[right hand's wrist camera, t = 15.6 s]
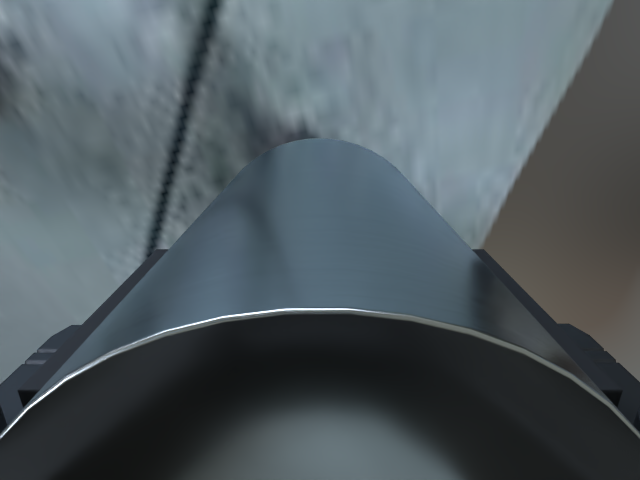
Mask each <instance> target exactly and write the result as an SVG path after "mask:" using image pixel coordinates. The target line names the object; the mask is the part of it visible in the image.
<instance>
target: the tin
mask: <svg viewBox="0 0 640 480" xmlns="http://www.w3.org/2000/svg"><path fill="white" fill-rule="evenodd" d="M0 480H640V432H639V431H638V430H637V429H636V428H635V427H634V426H633V425H632V424H631V423H630V421H629V420H628V419H627V418H626V417H625V416H624V415H623V414H622V413H621V412H620V411H619V409H618V408H617V407H616V406H615V405H614V404H613V403H612V402H611V401H610V400H609V399H608V397H607V396H606V395H605V394H604V393H603V392H602V391H601V390H600V389H599V388H598V387H597V385H596V384H595V383H594V382H593V381H592V380H591V379H590V378H589V377H588V376H587V375H586V373H585V372H584V371H583V370H582V369H581V368H580V367H579V366H578V365H577V364H576V363H575V361H574V360H573V359H572V358H571V357H570V356H569V355H568V354H567V353H566V352H565V351H564V350H563V348H562V347H561V346H560V345H559V344H558V343H557V342H556V341H555V340H554V339H553V338H552V336H551V335H550V334H549V333H548V332H547V331H546V330H545V329H544V328H543V327H542V326H541V324H540V323H539V322H538V321H537V320H536V319H535V318H534V317H533V316H532V315H531V314H530V312H529V311H528V310H527V309H526V308H525V307H524V306H523V305H522V304H521V303H520V302H519V300H518V299H517V298H516V297H515V296H514V295H513V294H512V293H511V292H510V291H509V290H508V288H507V287H506V286H505V285H504V284H503V283H502V282H501V281H500V280H499V279H498V278H497V276H496V275H495V274H494V273H493V272H492V271H491V270H490V269H489V268H488V267H487V266H486V264H485V263H484V262H483V261H482V260H481V259H480V258H479V257H478V256H477V255H476V254H475V252H474V251H473V250H472V249H471V248H470V247H469V246H468V245H467V244H466V243H465V242H464V240H463V239H462V238H461V237H460V236H459V235H458V234H457V233H456V232H455V231H454V230H453V229H452V227H451V226H450V225H449V224H448V223H447V222H446V221H445V220H444V219H443V218H442V217H441V215H440V214H439V213H438V212H437V211H436V210H435V209H434V208H433V207H432V206H431V205H430V203H429V202H428V201H427V200H426V199H425V198H424V197H423V196H422V195H421V194H420V193H419V191H418V190H417V189H416V188H415V187H414V186H413V185H412V184H411V183H410V182H409V181H408V179H407V178H406V177H405V176H404V175H403V174H402V173H401V172H400V171H399V170H398V169H397V168H396V167H395V166H394V165H393V164H391V163H390V162H389V161H388V160H386V159H385V158H384V157H382V156H380V155H378V154H377V153H375V152H373V151H372V150H369V149H367V148H365V147H362V146H360V145H358V144H354V143H350V142H347V141H343V140H335V139H328V138H316V139H305V140H298V141H293V142H290V143H286V144H283V145H280V146H278V147H275V148H273V149H271V150H268V151H267V152H265V153H263V154H262V155H260V156H258V157H257V158H255V159H254V160H253V161H251V162H250V163H249V164H248V165H246V166H245V167H244V168H243V169H242V170H241V171H240V172H239V173H238V174H237V175H236V176H235V178H234V179H233V180H232V181H231V182H230V183H229V184H228V185H227V186H226V187H225V188H224V190H223V191H222V192H221V193H220V194H219V195H218V196H217V197H216V198H215V199H214V200H213V202H212V203H211V204H210V205H209V206H208V207H207V208H206V209H205V210H204V211H203V212H202V214H201V215H200V216H199V217H198V218H197V219H196V220H195V221H194V222H193V223H192V225H191V226H190V227H189V228H188V229H187V230H186V231H185V232H184V233H183V234H182V235H181V237H180V238H179V239H178V240H177V241H176V242H175V243H174V244H173V245H172V246H171V247H170V249H169V250H168V251H167V252H166V253H165V254H164V255H163V256H162V257H161V258H160V259H159V261H158V262H157V263H156V264H155V265H154V266H153V267H152V268H151V269H150V270H149V271H148V273H147V274H146V275H145V276H144V277H143V278H142V279H141V280H140V281H139V282H138V284H137V285H136V286H135V287H134V288H133V289H132V290H131V291H130V292H129V293H128V294H127V296H126V297H125V298H124V299H123V300H122V301H121V302H120V303H119V304H118V305H117V306H116V308H115V309H114V310H113V311H112V312H111V313H110V314H109V315H108V316H107V317H106V318H105V320H104V321H103V322H102V323H101V324H100V325H99V326H98V327H97V328H96V329H95V330H94V332H93V333H92V334H91V335H90V336H89V337H88V338H87V339H86V340H85V341H84V342H83V344H82V345H81V346H80V347H79V348H78V349H77V350H76V351H75V352H74V353H73V355H72V356H71V357H70V358H69V359H68V360H67V361H66V362H65V363H64V364H63V365H62V367H61V368H60V369H59V370H58V371H57V372H56V373H55V374H54V375H53V376H52V377H51V379H50V380H49V381H48V382H47V383H46V384H45V385H44V386H43V387H42V388H41V389H40V391H39V392H38V393H37V394H36V395H35V396H34V397H33V398H32V399H31V400H30V401H29V403H28V404H27V405H26V406H25V407H24V408H23V409H22V410H21V411H20V412H19V414H18V415H17V416H16V417H15V418H14V419H13V420H12V421H11V422H10V423H9V424H8V426H7V427H6V428H5V429H4V430H3V431H2V432H1V433H0Z"/></svg>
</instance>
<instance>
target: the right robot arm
mask: <svg viewBox="0 0 640 480" xmlns="http://www.w3.org/2000/svg"><path fill="white" fill-rule="evenodd" d="M168 250H169V249H156V250H155V252H154V253H153V254H152V255H151V256H150V257H149V258H148V259H147V260H146V261H145V262H144V263H143V264H142V265H141V266H140V267H139V268H138V269H137V270H136V271H135V272H134V273H133V274H132V275H131V276H130V277H129V278H128V279H127V280H126V281H125V282H124V283H123V284H122V285H121V286H120V287H119V288H118V289H117V290H116V291H115V292H114V293H113V294H112V295H111V296H110V297H109V298H108V299H107V300H106V301H105V302H104V303H103V304H102V305H101V306H100V307H99V308H98V309H97V310H96V311H95V312H94V313H93V314H92V315H91V316H90V317H89V318H88V319H87V320H86V321H85V322H84V323H83V324H82V325H71V326H69V327H67V328H66V329H64V330H62V331H60V332H59V333H57V334H55V335H53V336H52V337H50V338H49V339H48V340H47V341H46V342H45V343H44V344H43V345H42V346H41V347H40V348H39V349H38V350H37V353H33V354H32V355H31V356H30V357H29V358H28V359H27V360H26V361H25V364H22V365H21V366H20V367H19V368H17V369H16V370H15V371H14V372H13V373H12V374H11V375H10V376H9V377H8V378H7V379H6V380H5V381H4V382H3V383H2V384H0V433H1V432H2V431H3V430H4V429H5V428H6V427H7V426H8V424H9V423H10V422H11V421H12V420H13V419H14V418H15V417H16V416H17V415H18V414H19V412H20V411H21V410H22V409H23V408H24V407H25V406H26V405H27V404H28V403H29V401H30V400H31V399H32V398H33V397H34V396H35V395H36V394H37V393H38V392H39V391H40V389H41V388H42V387H43V386H44V385H45V384H46V383H47V382H48V381H49V380H50V379H51V377H52V376H53V375H54V374H55V373H56V372H57V371H58V370H59V369H60V368H61V367H62V365H63V364H64V363H65V362H66V361H67V360H68V359H69V358H70V357H71V356H72V355H73V353H74V352H75V351H76V350H77V349H78V348H79V347H80V346H81V345H82V344H83V342H84V341H85V340H86V339H87V338H88V337H89V336H90V335H91V334H92V333H93V332H94V330H95V329H96V328H97V327H98V326H99V325H100V324H101V323H102V322H103V321H104V320H105V318H106V317H107V316H108V315H109V314H110V313H111V312H112V311H113V310H114V309H115V308H116V306H117V305H118V304H119V303H120V302H121V301H122V300H123V299H124V298H125V297H126V296H127V294H128V293H129V292H130V291H131V290H132V289H133V288H134V287H135V286H136V285H137V284H138V282H139V281H140V280H141V279H142V278H143V277H144V276H145V275H146V274H147V273H148V271H149V270H150V269H151V268H152V267H153V266H154V265H155V264H156V263H157V262H158V261H159V259H160V258H161V257H162V256H163V255H164V254H165V253H166V252H167V251H168ZM472 250H473V251H474V252H475V254H476V255H477V256H478V257H479V258H480V259H481V260H482V261H483V262H484V263H485V264H486V266H487V267H488V268H489V269H490V270H491V271H492V272H493V273H494V274H495V275H496V276H497V278H498V279H499V280H500V281H501V282H502V283H503V284H504V285H505V286H506V287H507V288H508V290H509V291H510V292H511V293H512V294H513V295H514V296H515V297H516V298H517V299H518V300H519V302H520V303H521V304H522V305H523V306H524V307H525V308H526V309H527V310H528V311H529V312H530V314H531V315H532V316H533V317H534V318H535V319H536V320H537V321H538V322H539V323H540V324H541V326H542V327H543V328H544V329H545V330H546V331H547V332H548V333H549V334H550V335H551V336H552V338H553V339H554V340H555V341H556V342H557V343H558V344H559V345H560V346H561V347H562V348H563V350H564V351H565V352H566V353H567V354H568V355H569V356H570V357H571V358H572V359H573V360H574V361H575V363H576V364H577V365H578V366H579V367H580V368H581V369H582V370H583V371H584V372H585V373H586V375H587V376H588V377H589V378H590V379H591V380H592V381H593V382H594V383H595V384H596V385H597V387H598V388H599V389H600V390H601V391H602V392H603V393H604V394H605V395H606V396H607V397H608V399H609V400H610V401H611V402H612V403H613V404H614V405H615V406H616V407H617V408H618V409H619V411H620V412H621V413H622V414H623V415H624V416H625V417H626V418H627V419H628V420H629V421H630V423H631V424H632V425H633V426H634V427H635V428H636V429H637V430H638V431H639V432H640V382H639V381H638V380H637V379H636V378H635V377H634V376H632V375H631V374H630V373H629V372H628V371H627V370H626V369H625V368H624V367H623V366H622V365H621V364H620V363H616V360H615V359H614V358H613V357H612V356H611V355H610V354H609V353H608V352H607V351H604V349H603V348H602V347H601V346H600V345H599V344H598V343H597V342H596V341H595V340H594V339H593V338H592V337H591V336H590V335H588V334H586V333H585V332H583V331H581V330H579V329H577V328H576V327H574V326H572V325H570V324H557V323H556V322H555V321H554V320H553V319H552V318H551V317H550V316H549V315H548V314H547V313H546V312H545V311H544V310H543V309H542V308H541V307H540V306H539V305H538V304H537V303H536V302H535V301H534V300H533V299H532V298H531V297H530V296H529V295H528V294H527V293H526V292H525V291H524V290H523V289H522V288H521V287H520V286H519V285H518V284H517V283H516V282H515V281H514V280H513V279H512V278H511V277H510V275H509V274H507V273H506V271H505V270H504V269H502V267H501V266H500V265H499V264H498V263H497V262H496V261H495V260H494V259H493V258H492V257H491V256H490V255H489V254H488V253H487V252H486V251H485V250H484V249H472Z"/></svg>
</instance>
